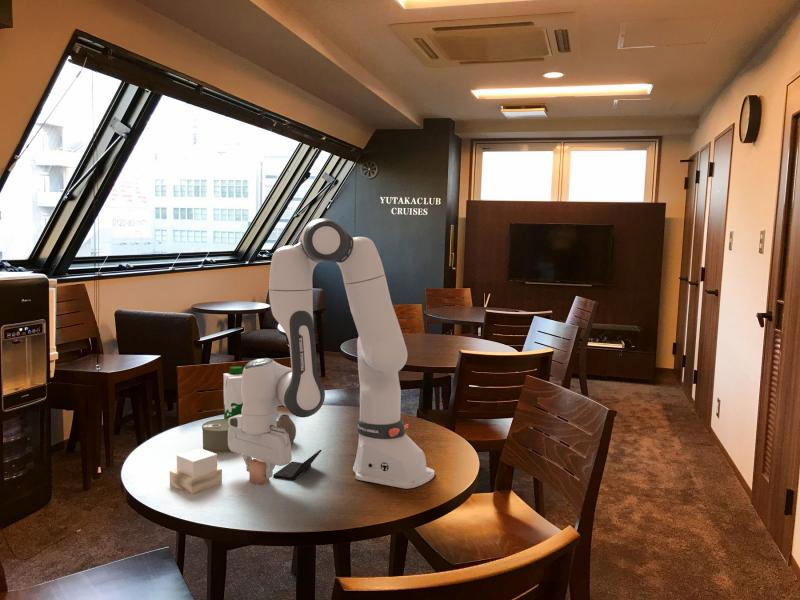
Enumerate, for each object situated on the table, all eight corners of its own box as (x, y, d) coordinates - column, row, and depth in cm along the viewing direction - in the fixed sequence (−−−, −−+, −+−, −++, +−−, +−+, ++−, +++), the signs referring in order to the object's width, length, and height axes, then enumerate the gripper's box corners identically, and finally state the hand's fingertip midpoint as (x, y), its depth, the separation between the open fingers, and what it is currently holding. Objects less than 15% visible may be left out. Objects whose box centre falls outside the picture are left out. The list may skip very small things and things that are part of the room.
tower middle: (217, 469, 161) (217, 454, 160) (193, 477, 155) (193, 461, 155) (200, 463, 165) (200, 448, 164) (176, 470, 159) (176, 455, 159)
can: (245, 451, 185) (245, 428, 184) (203, 455, 181) (202, 432, 180) (241, 438, 196) (241, 417, 195) (201, 442, 192) (201, 420, 191)
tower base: (221, 484, 161) (221, 469, 161) (192, 495, 154) (192, 479, 154) (199, 476, 166) (199, 461, 166) (169, 486, 159) (169, 471, 159)
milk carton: (247, 423, 212) (247, 364, 210) (255, 430, 204) (255, 369, 202) (221, 426, 208) (220, 367, 206) (228, 434, 200) (228, 372, 198)
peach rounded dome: (273, 479, 164) (273, 461, 163) (258, 485, 160) (258, 466, 159) (259, 475, 167) (259, 457, 166) (245, 481, 162) (245, 462, 162)
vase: (298, 440, 196) (298, 412, 195) (292, 447, 189) (292, 418, 188) (276, 439, 196) (276, 411, 195) (270, 446, 190) (270, 417, 189)
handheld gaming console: (284, 458, 176) (304, 433, 173) (304, 474, 176) (325, 449, 173) (269, 479, 164) (291, 453, 162) (291, 496, 165) (313, 470, 162)
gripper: (297, 426, 158) (297, 479, 160) (242, 412, 170) (242, 462, 171) (279, 432, 153) (279, 487, 155) (223, 417, 165) (223, 469, 166)
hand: (259, 474), depth 163 cm, fingers closed on peach rounded dome, 5 cm apart
